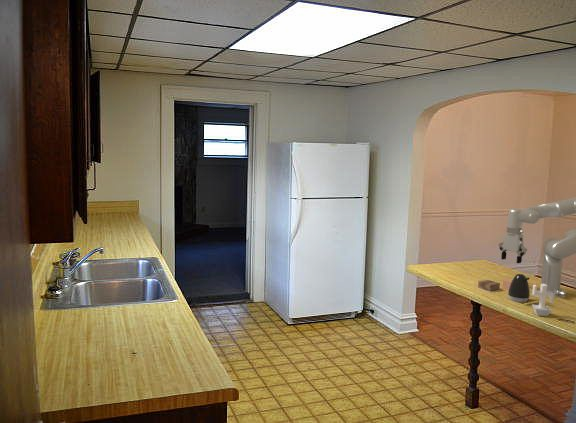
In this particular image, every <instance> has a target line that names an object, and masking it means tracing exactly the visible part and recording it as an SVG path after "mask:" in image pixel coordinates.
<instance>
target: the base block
mask: <svg viewBox="0 0 576 423" xmlns="http://www.w3.org/2000/svg"><path fill="white" fill-rule="evenodd" d="M477 283H478V284H477V289H478V288H479V289H478V290H481V289H483V290H482V291H484V290H486V291H485V292H487V291H489V292H488V293H492V292H491V291H495V292H498V291H497V290H501V287H500V286H501V283H500V282H498V281H494V280H491V279H483V280H478V281H477Z"/></svg>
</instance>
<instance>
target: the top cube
mask: <svg viewBox="0 0 576 423" xmlns="http://www.w3.org/2000/svg"><path fill="white" fill-rule="evenodd" d="M512 280H513V279H509V278H508V279H503V280H502V285H501V286H502V289H503V290H505V291H509V287H510V284H511V282H512Z"/></svg>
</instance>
